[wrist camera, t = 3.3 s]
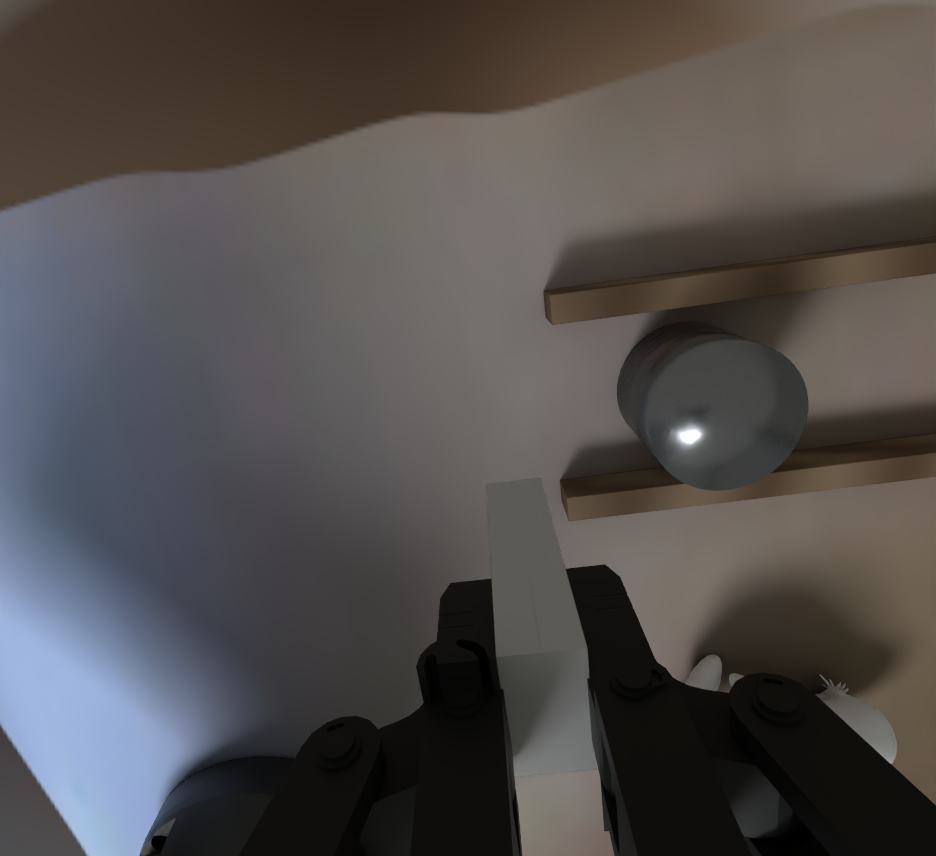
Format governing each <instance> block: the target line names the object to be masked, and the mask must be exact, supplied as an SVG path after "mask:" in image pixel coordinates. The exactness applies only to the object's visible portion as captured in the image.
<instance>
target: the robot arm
mask: <svg viewBox="0 0 936 856" xmlns="http://www.w3.org/2000/svg"><path fill="white" fill-rule="evenodd" d="M486 493H487V510H488V527H489V544H490V561H491V578H492V579H484V580H475V581H466V582H457V583H450V585H449V586H448V588H447V589H446V591H445V592H444V594H443V595H442V597H441V598H440V609H439V621H438V633H437V641H436V642H435V643H433V644H431V645H429V647H428V648H427V649H426V650H425V651H424V652H423V653H422V654H421V655H420V658H419V660H418V663H417V666H416V667H417V672H418V677H419V682H420V687H421V692H422V696H423V701H424V703H423V705H422V706H421V707H420V708H419V709H418V710H416V711H415V712H414V713H412V714H411V715H410V716H408V717H406V718H404V719H402V720H400V721H398V722H395V723H393V724H390V725H387V726H385V727H382V728H380V729H378V728H377V727H376V726H375V725H374V724H373V723H372V722H371V721H370V720H368V719H364V718H361V717H358V716H349V717H340V718H338V719H335V720H333V721H330V722H327V723H326V724H324V725H323V726H321V727H320V728H319V729H317V730H316V731H314V732H313V733H312V734H311V736H310V737H309V738H308V739H307V741H306V742H305V743H304V744H303V746H302V747H301V749H300V751H299V752H298V754H297V756H296V758H295V759H294V760H287V759H279V758H248V759H240V760H234V761H229V762H225V763H221V764H217V765H214V766H211V767H209V768H206V769H204V770H202V771H200V772H198V773H196V774H194V775H193V776H191V777H189V778H188V779H186V780H185V781H184V782H182V783H181V784H180V785H179V786H178V787H176V788H175V790H174V791H173V792H172V793H171V794H170V795H169V796H168V798H167V799H166V801H165V802H164V804H163V806H162V808H161V810H160V812H159V814H158V816H157V817H156V819H155V821H154V823H153V825H152V827H151V829H150V831H149V833H148V835H147V837H146V839H145V841H144V844H143V847H142V849H141V852H140V856H522V847H521V835H520V823H519V811H518V803H517V796H516V789H515V779H514V777H522V776H532V775H543V774H554V773H565V772H575V771H586V770H597V767H596V761H597V765H598V769H599V773H600V778H601V792H602V805H603V818H604V831H609V833H610V837H611V842H612V846H613V850H614V855H615V856H936V805H935V804H934V803H932V802H931V801H930V800H929V799H928V798H927V797H926V796H925V795H924V794H923V793H922V792H921V791H919V790H918V789H917V788H916V787H915V786H914V785H913V784H912V783H911V782H910V781H909V780H908V779H906V778H905V777H904V776H903V775H902V774H901V773H900V772H899V771H898V770H897V769H896V768H895V767H893V766H892V765H891V764H890V763H889V762H888V761H887V760H886V759H885V758H884V757H883V756H882V755H880V754H879V753H878V752H877V751H876V750H875V749H874V748H873V747H872V746H871V745H870V744H869V743H867V742H866V741H865V740H864V739H863V738H862V737H861V736H860V735H859V734H858V733H857V732H856V731H854V730H853V729H852V728H851V727H850V726H849V725H848V724H847V723H846V722H845V721H844V720H843V719H841V718H840V717H839V716H838V715H837V714H836V713H835V712H834V711H833V710H832V709H831V708H830V707H828V706H827V705H826V704H825V703H824V702H823V701H822V700H821V699H820V698H819V697H818V696H817V695H815V694H814V693H813V692H812V691H810V690H809V689H807V688H806V687H804V686H803V685H802V684H800V683H799V682H796V681H794V680H791V679H789V678H786V677H784V676H781V675H775V674H768V673H757V674H750V675H746V676H744V677H742V678H741V679H739V680H737V681H735V683H734V685H733V686H732V688H731V690H730V692H729V693H725V692H719V691H712V690H706V689H701V688H697V687H693V686H689V685H687V684H684V683H682V682H680V681H678V680H676V679H674V678H673V677H672V676H671V675H670V673H669V672H668V671H667V669H666V668H665V667H663V666H662V665H660V664H659V663H657V661H656V659H655V658H654V656H653V653H652V651H651V649H650V646H649V644H648V641H647V639H646V637H645V634H644V632H643V630H642V627H641V625H640V623H639V620H638V618H637V616H636V613H635V611H634V609H633V607H632V604H631V602H630V599H629V597H628V596H627V592H626V590H625V587H624V585H623V583H622V580H621V578H620V577H619V576H618V575H617V574H616V573H615V572H613V571H612V570H611V569H610V568H609V567H607V566H606V565H596V566H587V567H578V568H569V569H565V565H564V562H563V558H562V554H561V551H560V547H559V544H558V540H557V536H556V533H555V529H554V526H553V522H552V518H551V515H550V511H549V507H548V504H547V500H546V497H545V493H544V489H543V486H542V482H541V478H535V479H527V480H519V481H510V482H502V483H493V484H486Z"/></svg>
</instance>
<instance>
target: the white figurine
mask: <svg viewBox="0 0 936 856" xmlns="http://www.w3.org/2000/svg"><path fill="white" fill-rule="evenodd" d="M721 674H722V663H721V660H720V658H719V657H718V656H716V655H707V656H706V657H705V658H703V659H701V661H700V662H699V664H698V665H697V666H696V667H695V668H694V669H693V670H692V671H691V673H690V675H689V677H688V679H687V680H686V681H685V684H687V685H689V686H693V687H697V688H701V689H706V690H712V691H718V689H719V687H720V682H721ZM819 675H820V674H819ZM820 676H821V675H820ZM742 677H744V676H743V675H739V674H735V673H732V674H730V676H729V683H730V685H731V687H732V686H733V685H734V683H735V681H737V680H739V679H741V678H742ZM821 678H822V679H823V680H824V681H825V683H826V684H827V686H828V687H827V688H828V689H827V690H825V691H823V692H822V693H820V694H815V695H817V696H818V697H819V698H820V699H821V700H822V701H823V702H824V703H825V704H826V705H827V706H828V707H830V708H831V709H832V710H833V711H834V712H835V713H836V714H837V715H838V716H839V717H840V718H841V719H843V720H844V721H845V722H846V723H847V724H848V725H849V726H850V727H851V728H852V729H853V730H854V731H856V732H857V733H858V734H859V735H860V736H861V737H862V738H863V739H864V740H865V741H866V742H867V743H869V744H870V745H871V746H872V747H873V748H874V749H875V750H876V751H877V752H878V753H879V754H880V755H882V756H883V757H884V758H885V759H886V760H887V761H888V762H889V763H890V764H892V763H893V761H894V759H895V756H896V753H897V742H896V738H895V734H894V731H893V729H892V727H891V725H890V724H889V722H888V721H887V719H886V718H885V717H884V716H883V714H882V713H881V712H880V711H879V710H878V709H877V708H875V707H874V706H873V705H872V704H870V703H868V702H866V701H864V700H862V699H860V698H857V697H854V696H850V695H847V694H845V692H847V691H848V689H849V688H847V689H845V690H843V688H844V687H845V685H846V683H845V684H844V685H843V686H841V682H840V683H839V684H838V685H836V686H834V685H833V683H832V681H831V680H830V679H829V680H830V684H829V683H828V681H827V680H826V679H825V678H824V677H823V676H821ZM822 685H823V684H822ZM823 686H825V685H823ZM825 687H826V686H825Z"/></svg>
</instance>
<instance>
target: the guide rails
mask: <svg viewBox="0 0 936 856" xmlns="http://www.w3.org/2000/svg"><path fill="white" fill-rule="evenodd" d="M934 273H936V237H930V238H923V239H916V240H909V241H901V242H894V243H887V244H880V245H872V246H865V247H858V248H851V249H843V250H836V251H829V252H822V253H814V254H807V255H800V256H792V257H785V258H778V259H771V260H763V261H756V262H749V263H742V264H734V265H727V266H720V267H713V268H705V269H698V270H691V271H684V272H676V273H669V274H662V275H654V276H647V277H640V278H633V279H625V280H618V281H611V282H604V283H596V284H589V285H582V286H575V287H567V288H560V289H553V290H546V291H544V303H545V314H546V319H547V320H548V321H549V322H550V323H551V324H552V325H557V324H564V323H571V322H579V321H586V320H594V319H601V318H608V317H616V316H623V315H631V314H638V313H645V312H653V311H660V310H667V309H675V308H682V307H690V306H697V305H704V304H712V303H719V302H727V301H734V300H741V299H749V298H756V297H764V296H771V295H778V294H786V293H793V292H801V291H808V290H815V289H823V288H830V287H838V286H845V285H852V284H860V283H867V282H875V281H882V280H889V279H897V278H904V277H911V276H919V275H926V274H934ZM929 477H936V433H935V434H926V435H918V436H910V437H902V438H894V439H886V440H878V441H870V442H862V443H854V444H846V445H838V446H830V447H822V448H814V449H806V450H798V451H792V452H791V454H790V455H789V456H788V457H787V459H786V460H785V461H784V462H783V463H782V464H781V465H780V466H779V467H777V468H776V469H775V470H774V471H772V472H771V473H770V474H768V475H767V476H765V477H764V478H762V479H760V480H758V481H756V482H754V483H752V484H749V485H747V486H743V487H740V488H736V489H731V490H722V491H712V490H704V489H698V488H695V487H692V486H689V485H687V484H685V483H683V482H681V481H679V480H678V479H676V478H675V477H673V476H672V475H671V474H670V473H669V472H668V471H667V470H666V469H665V468H664V467H662V468H654V469H646V470H637V471H629V472H621V473H613V474H605V475H597V476H589V477H581V478H573V479H565V480H560V485H561V497H562V503H563V506H564V509H565V512H566V514H567V517H568V520H569V521H576V520H584V519H592V518H600V517H608V516H617V515H625V514H633V513H641V512H650V511H658V510H666V509H674V508H682V507H691V506H699V505H707V504H715V503H724V502H732V501H740V500H748V499H756V498H765V497H773V496H781V495H789V494H798V493H806V492H814V491H822V490H830V489H839V488H847V487H855V486H863V485H871V484H880V483H888V482H896V481H904V480H913V479H921V478H929Z"/></svg>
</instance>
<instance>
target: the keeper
mask: <svg viewBox="0 0 936 856" xmlns="http://www.w3.org/2000/svg"><path fill="white" fill-rule="evenodd" d="M617 399H618V405H619V409H620V411H621V414H622V416H623V418H624V420H625V421H626V423H627V424H628V426H629V427H630V428H631V429H632V430H633V431H634V433H635V434H636V435H637V436H638V437H639V438H640V440H641V441H642V442H643V443H644V444H645V446H646V447H647V448H648V449H649V450H650V451H651V453H652V454H653V455H654V456H655V457H656V458H657V460H658V461H659V462H660V463H661V464H662V465H663V467H664V468H665V469H666V470H667V471H668V472H669V473H670V474H671V475H672V476H673V477H675V478H676V479H678V480H679V481H681V482H683V483H685V484H687V485H689V486H692V487H695V488H698V489H704V490H712V491H722V490H731V489H736V488H740V487H743V486H747V485H749V484H752V483H754V482H756V481H758V480H760V479H762V478H764V477H765V476H767V475H768V474H770V473H771V472H772V471H774V470H775V469H776V468H777V467H779V466H780V465H781V464H782V463H783V462H784V461H785V460H786V459H787V457H788V456H789V455H790V454H791V452H792V451H793V450H794V448H795V447H796V445H797V443H798V441H799V440H800V438H801V435H802V433H803V431H804V428H805V424H806V420H807V414H808V396H807V390H806V386H805V383H804V380H803V378H802V376H801V374H800V372H799V371H798V370H797V368H796V367H795V365H794V364H793V363H792V362H791V361H790V360H789V359H788V358H787V357H785V356H784V355H783V354H781V353H780V352H778V351H776V350H774V349H772V348H770V347H767V346H765V345H762V344H759V343H757V342H754V341H752V340H749V339H746V338H744V337H741V336H738V335H736V334H733V333H730V332H728V331H725V330H722V329H720V328H717V327H714V326H711V325H709V324H705V323H700V322H690V321H689V322H679V323H674V324H670V325H667V326H664V327H662V328H660V329H657V330H655V331H654V332H652V333H651V334H649V335H647V336H646V337H645V338H644V339H642V340H641V341H640V342H639V343H638V344H637V345H636V346H635V347H634V348H633V350H632V351H631V352H630V354H629V355H628V357H627V358H626V360H625V362H624V364H623V366H622V368H621V371H620V374H619V378H618V384H617Z"/></svg>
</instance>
